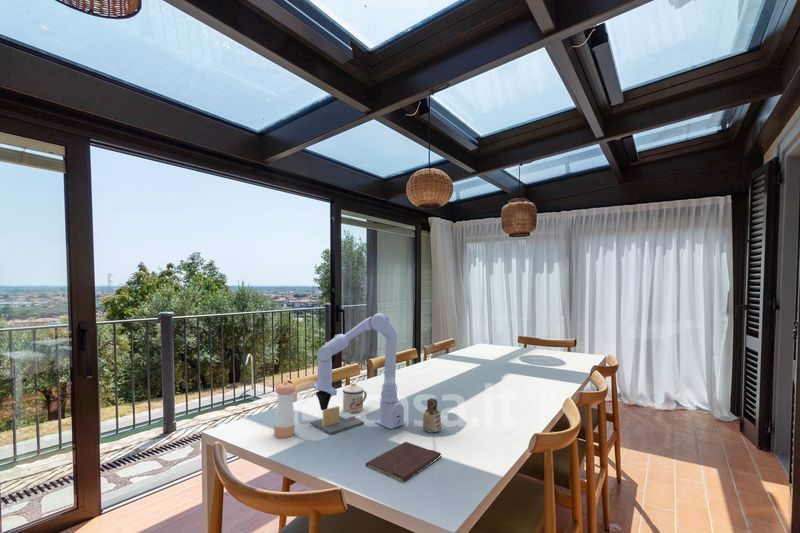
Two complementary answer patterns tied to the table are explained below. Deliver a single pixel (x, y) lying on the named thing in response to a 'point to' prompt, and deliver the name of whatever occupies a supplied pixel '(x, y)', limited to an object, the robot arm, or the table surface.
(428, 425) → the figurine
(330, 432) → the mat
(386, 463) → the notebook
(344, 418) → the slate tile
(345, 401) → the teacup with lid
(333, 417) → the tile
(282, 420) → the pepper shaker
